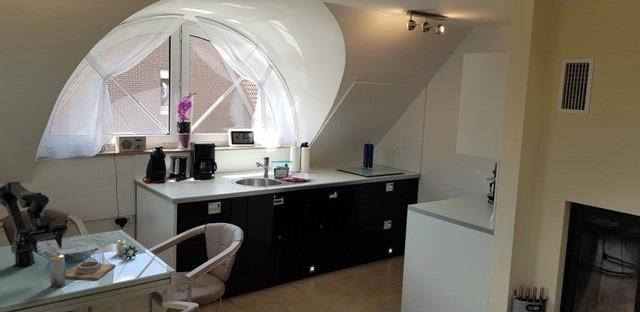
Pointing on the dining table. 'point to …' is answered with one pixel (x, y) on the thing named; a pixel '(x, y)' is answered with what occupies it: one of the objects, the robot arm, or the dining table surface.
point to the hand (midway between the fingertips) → (49, 250)
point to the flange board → (89, 276)
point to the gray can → (57, 270)
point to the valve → (125, 249)
